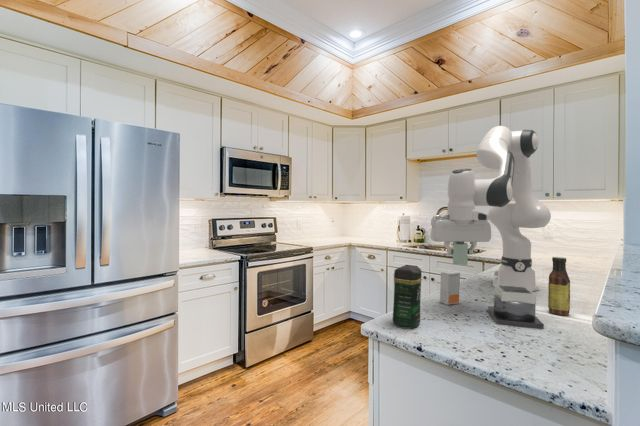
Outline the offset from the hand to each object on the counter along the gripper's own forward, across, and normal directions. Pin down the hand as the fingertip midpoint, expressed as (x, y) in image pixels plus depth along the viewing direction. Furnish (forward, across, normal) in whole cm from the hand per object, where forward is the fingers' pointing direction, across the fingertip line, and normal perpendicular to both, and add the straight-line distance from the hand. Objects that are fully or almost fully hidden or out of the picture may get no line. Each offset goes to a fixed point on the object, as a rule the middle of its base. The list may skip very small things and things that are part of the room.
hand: (460, 254), depth 114 cm
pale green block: (+3, 0, 0) cm, 3 cm away
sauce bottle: (+21, +36, 0) cm, 41 cm away
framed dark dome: (+21, +16, -6) cm, 27 cm away
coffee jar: (+21, -22, -11) cm, 32 cm away
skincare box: (+21, +1, +11) cm, 24 cm away
